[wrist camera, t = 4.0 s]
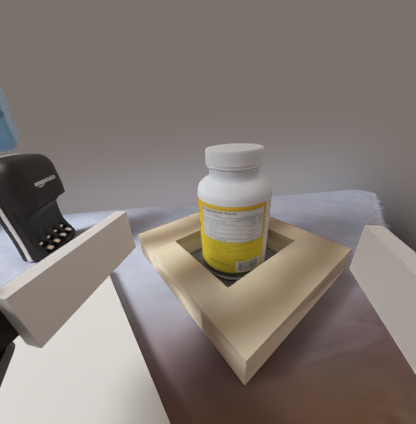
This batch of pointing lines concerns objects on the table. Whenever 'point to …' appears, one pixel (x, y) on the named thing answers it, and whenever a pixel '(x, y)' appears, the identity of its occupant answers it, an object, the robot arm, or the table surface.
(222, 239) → the pill bottle
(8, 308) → the robot arm
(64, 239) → the battery charger
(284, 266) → the holder
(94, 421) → the pad
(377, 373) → the table surface
